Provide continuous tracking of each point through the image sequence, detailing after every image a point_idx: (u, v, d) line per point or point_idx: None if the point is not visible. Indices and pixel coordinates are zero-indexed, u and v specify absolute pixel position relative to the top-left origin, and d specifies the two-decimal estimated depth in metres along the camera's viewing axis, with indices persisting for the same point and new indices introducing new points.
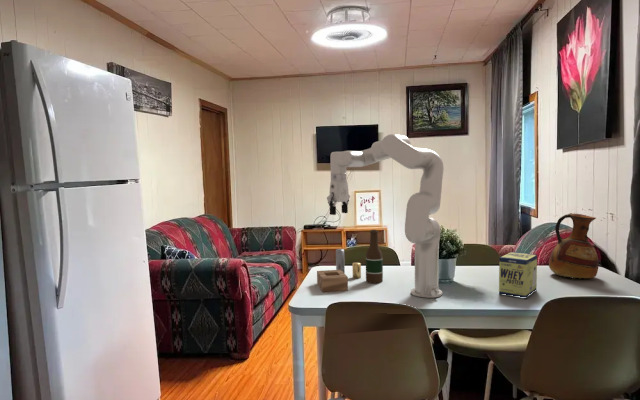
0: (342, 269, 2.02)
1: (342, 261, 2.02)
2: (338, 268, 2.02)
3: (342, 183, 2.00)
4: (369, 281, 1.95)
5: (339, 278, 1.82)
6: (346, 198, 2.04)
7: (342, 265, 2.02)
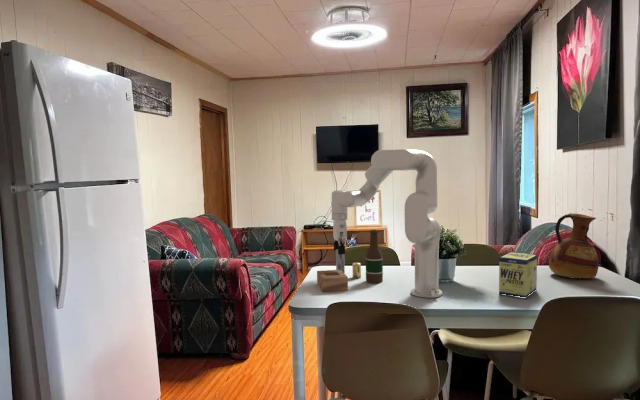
0: (342, 269, 2.02)
1: (342, 261, 2.02)
2: (338, 268, 2.02)
3: None
4: (369, 281, 1.95)
5: (339, 278, 1.82)
6: None
7: (342, 265, 2.02)
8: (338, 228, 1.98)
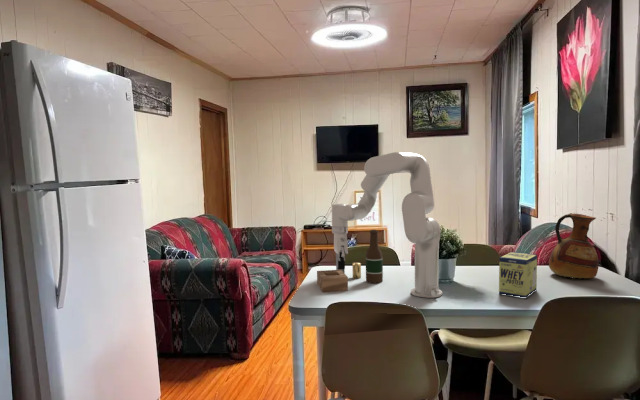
0: (342, 269, 2.02)
1: None
2: None
3: None
4: (369, 281, 1.95)
5: (339, 278, 1.82)
6: None
7: None
8: (339, 242, 1.98)
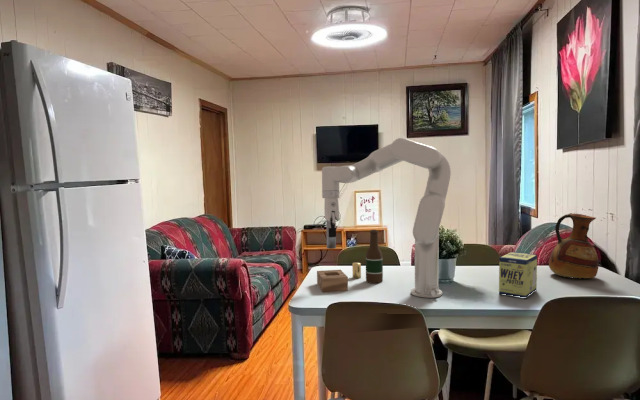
0: (333, 237, 1.86)
1: None
2: None
3: None
4: (369, 281, 1.95)
5: (339, 278, 1.82)
6: None
7: None
8: (329, 207, 1.82)
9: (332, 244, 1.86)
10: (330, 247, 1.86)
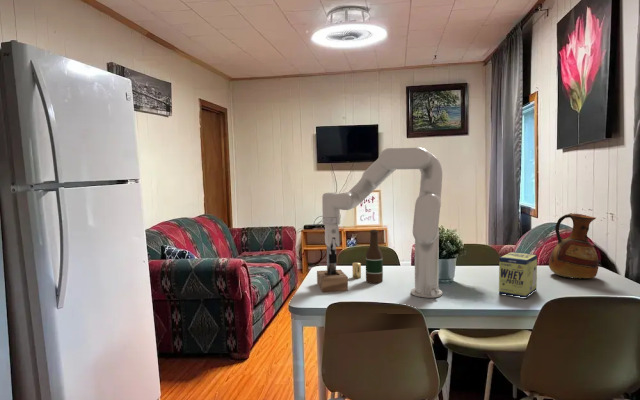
0: (333, 263, 1.87)
1: None
2: None
3: None
4: (369, 281, 1.95)
5: (339, 278, 1.82)
6: None
7: None
8: (330, 233, 1.83)
9: (332, 270, 1.87)
10: (330, 273, 1.87)
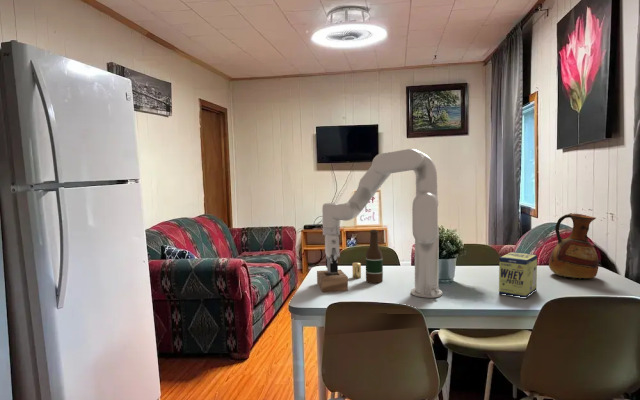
0: None
1: None
2: None
3: None
4: (369, 281, 1.95)
5: (339, 278, 1.82)
6: None
7: (334, 273, 1.87)
8: (330, 244, 1.83)
9: None
10: None
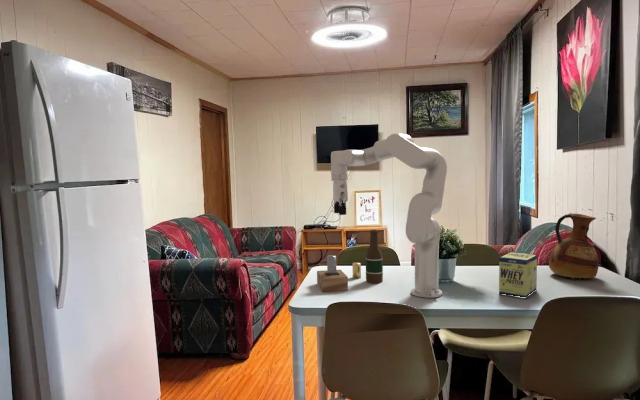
0: None
1: (334, 268, 1.87)
2: None
3: None
4: (369, 281, 1.95)
5: (339, 278, 1.82)
6: None
7: (334, 273, 1.87)
8: (338, 188, 1.95)
9: None
10: None
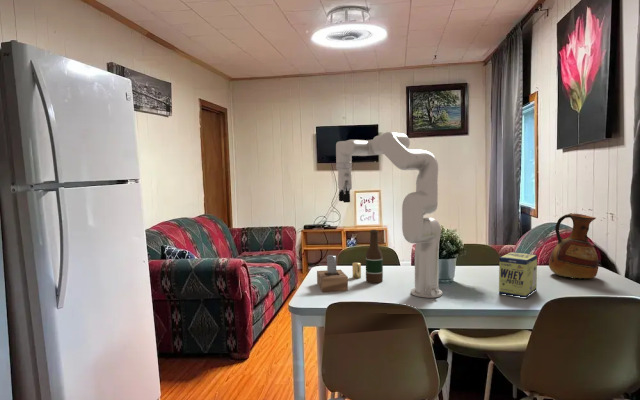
0: None
1: (334, 268, 1.87)
2: None
3: None
4: (369, 281, 1.95)
5: (339, 278, 1.82)
6: None
7: (334, 273, 1.87)
8: (343, 177, 2.04)
9: None
10: None
